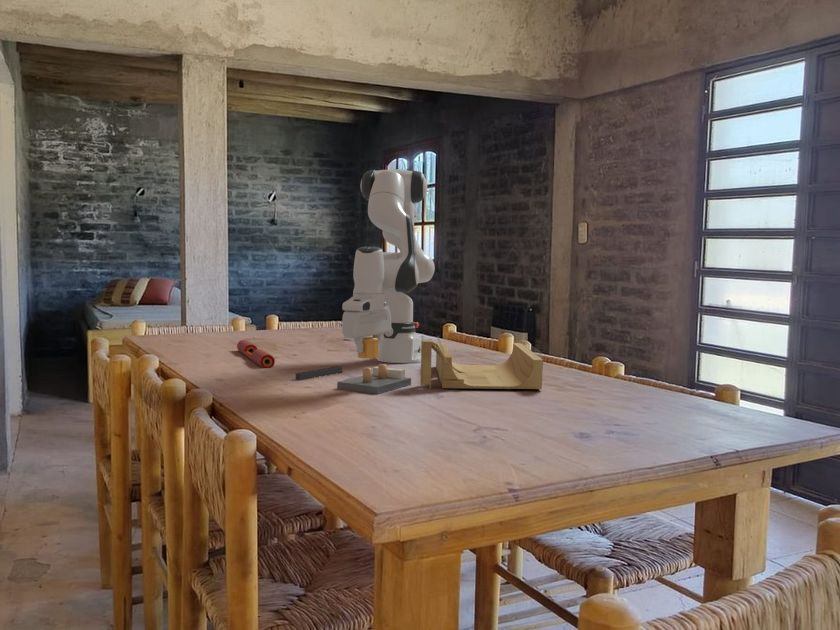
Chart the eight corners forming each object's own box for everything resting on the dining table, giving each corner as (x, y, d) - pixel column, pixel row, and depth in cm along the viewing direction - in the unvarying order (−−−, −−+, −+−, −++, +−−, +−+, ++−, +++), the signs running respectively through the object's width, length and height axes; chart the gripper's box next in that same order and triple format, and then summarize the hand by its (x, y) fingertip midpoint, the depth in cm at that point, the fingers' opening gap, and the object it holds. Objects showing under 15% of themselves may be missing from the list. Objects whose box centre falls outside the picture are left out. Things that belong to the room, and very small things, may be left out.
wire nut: (365, 355, 217) (365, 336, 216) (381, 356, 214) (381, 337, 213) (354, 357, 212) (354, 338, 211) (370, 359, 209) (370, 339, 208)
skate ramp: (542, 392, 216) (544, 337, 214) (420, 390, 215) (422, 335, 213) (520, 370, 256) (521, 324, 254) (417, 368, 255) (418, 322, 253)
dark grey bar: (300, 371, 225) (290, 370, 227) (300, 380, 225) (290, 379, 227) (342, 365, 240) (332, 364, 242) (342, 373, 240) (332, 372, 242)
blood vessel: (236, 352, 284) (236, 339, 283) (250, 352, 286) (250, 339, 285) (260, 369, 245) (260, 354, 245) (274, 369, 247) (275, 354, 247)
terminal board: (372, 379, 228) (372, 360, 228) (410, 384, 222) (411, 364, 221) (337, 388, 213) (337, 368, 212) (377, 394, 206) (378, 372, 205)
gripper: (379, 301, 222) (378, 346, 223) (338, 304, 204) (337, 354, 206) (397, 302, 219) (396, 348, 220) (357, 305, 201) (356, 355, 202)
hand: (367, 351), depth 213 cm, fingers closed on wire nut, 6 cm apart
